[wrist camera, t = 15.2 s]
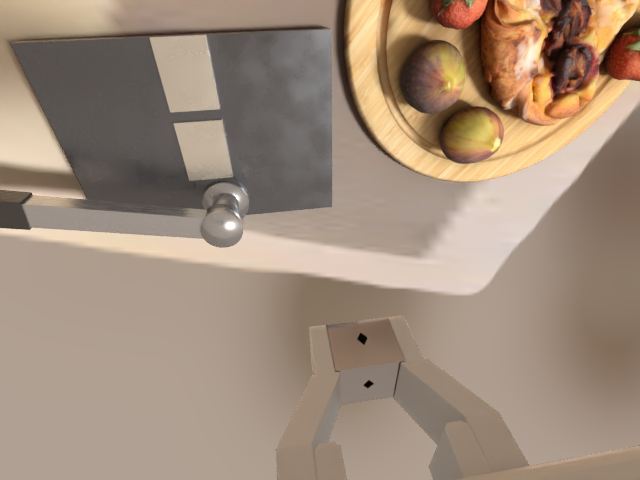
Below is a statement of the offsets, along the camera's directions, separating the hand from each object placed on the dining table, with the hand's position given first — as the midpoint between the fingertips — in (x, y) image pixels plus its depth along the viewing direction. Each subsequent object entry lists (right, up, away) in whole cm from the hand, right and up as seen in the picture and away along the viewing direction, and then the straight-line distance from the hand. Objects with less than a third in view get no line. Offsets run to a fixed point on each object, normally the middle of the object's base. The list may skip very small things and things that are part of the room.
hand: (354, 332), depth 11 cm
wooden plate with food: (+17, +24, +23) cm, 37 cm away
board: (-13, +14, +24) cm, 31 cm away
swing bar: (-19, +6, +22) cm, 30 cm away
